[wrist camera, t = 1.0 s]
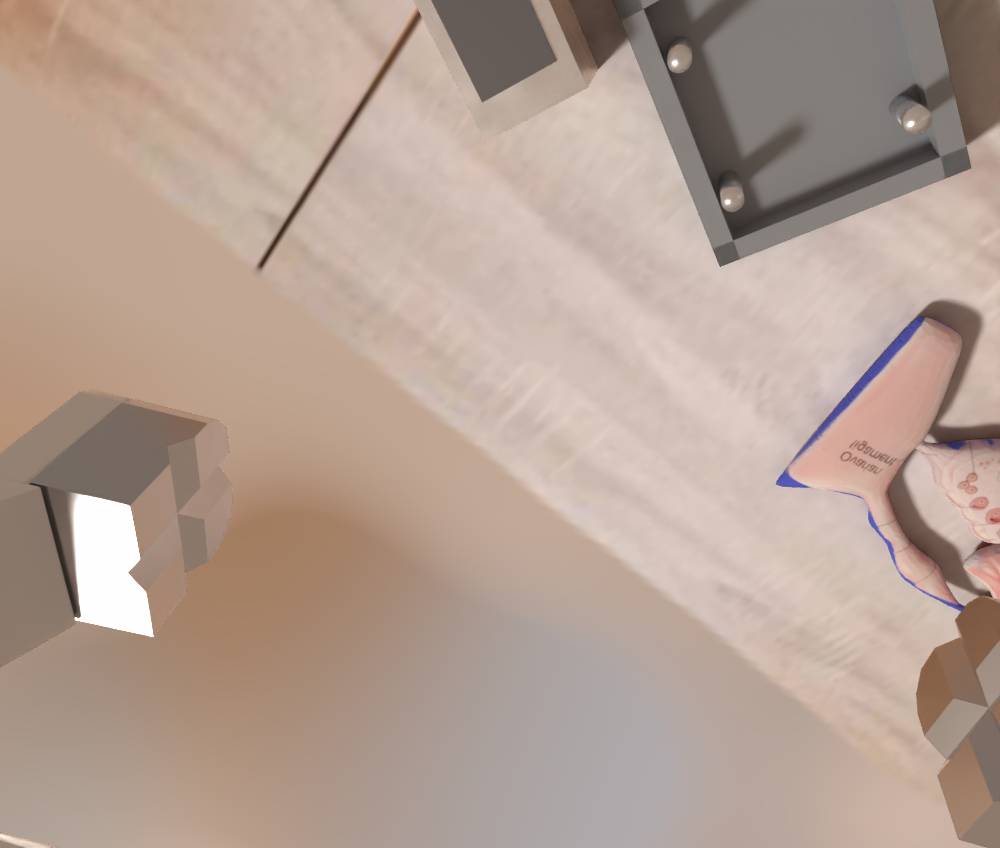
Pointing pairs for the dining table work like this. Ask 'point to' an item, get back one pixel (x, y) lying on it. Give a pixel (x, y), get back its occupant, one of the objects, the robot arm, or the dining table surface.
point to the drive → (510, 56)
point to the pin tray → (797, 108)
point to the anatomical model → (891, 438)
